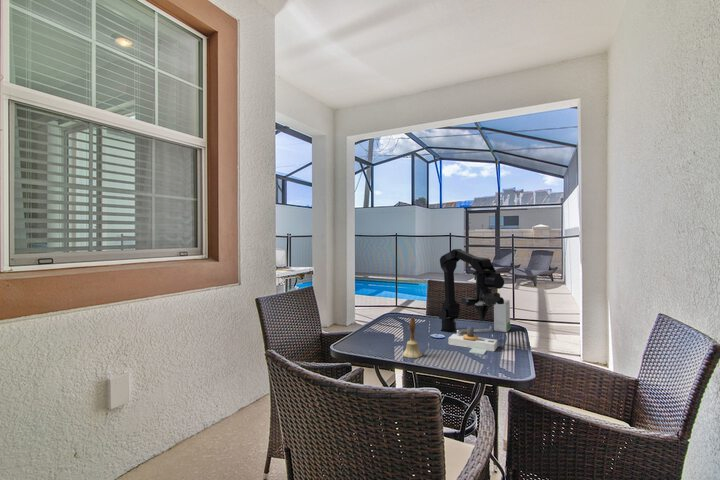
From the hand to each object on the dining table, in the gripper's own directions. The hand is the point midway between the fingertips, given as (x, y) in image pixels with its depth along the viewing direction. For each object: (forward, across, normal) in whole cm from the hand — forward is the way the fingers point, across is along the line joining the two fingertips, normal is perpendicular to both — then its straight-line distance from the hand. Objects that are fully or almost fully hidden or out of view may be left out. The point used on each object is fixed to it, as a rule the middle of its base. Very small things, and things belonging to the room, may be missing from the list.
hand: (482, 319), depth 161 cm
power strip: (+11, -6, 0) cm, 13 cm away
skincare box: (+12, +23, +19) cm, 32 cm away
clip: (+7, -1, +5) cm, 9 cm away
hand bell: (+12, -36, -6) cm, 39 cm away
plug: (+11, -6, 0) cm, 13 cm away
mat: (+11, -8, -9) cm, 16 cm away
